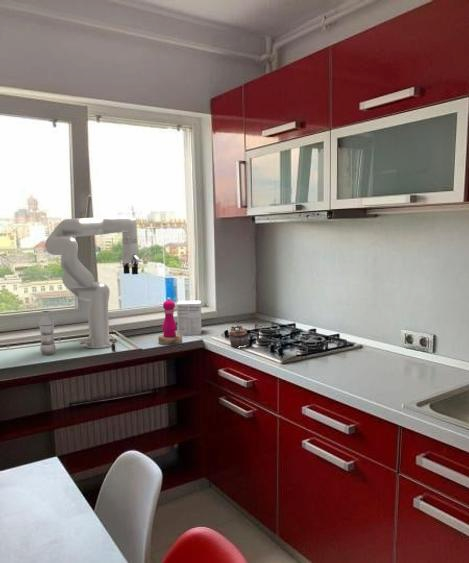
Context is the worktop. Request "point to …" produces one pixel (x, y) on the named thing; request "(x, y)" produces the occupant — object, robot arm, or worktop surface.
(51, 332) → the plastic bottle
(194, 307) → the supplement box
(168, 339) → the walnut pedestal
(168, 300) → the pepper mill
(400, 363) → the worktop surface
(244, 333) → the cupcake
